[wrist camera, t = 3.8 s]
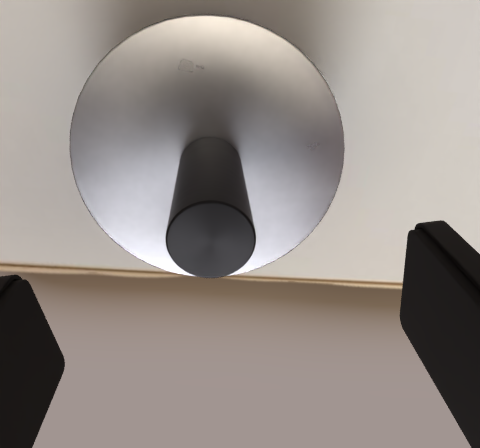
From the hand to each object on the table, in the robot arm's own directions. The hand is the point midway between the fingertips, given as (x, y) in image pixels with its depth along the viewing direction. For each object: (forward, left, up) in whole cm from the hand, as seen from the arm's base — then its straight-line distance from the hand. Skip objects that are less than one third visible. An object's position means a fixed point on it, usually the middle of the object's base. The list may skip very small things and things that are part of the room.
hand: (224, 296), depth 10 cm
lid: (0, 0, -10) cm, 10 cm away
